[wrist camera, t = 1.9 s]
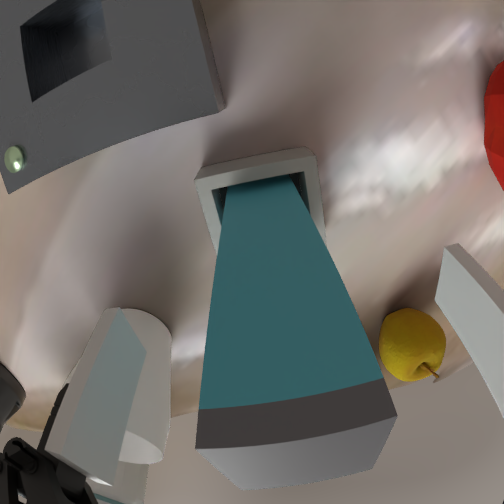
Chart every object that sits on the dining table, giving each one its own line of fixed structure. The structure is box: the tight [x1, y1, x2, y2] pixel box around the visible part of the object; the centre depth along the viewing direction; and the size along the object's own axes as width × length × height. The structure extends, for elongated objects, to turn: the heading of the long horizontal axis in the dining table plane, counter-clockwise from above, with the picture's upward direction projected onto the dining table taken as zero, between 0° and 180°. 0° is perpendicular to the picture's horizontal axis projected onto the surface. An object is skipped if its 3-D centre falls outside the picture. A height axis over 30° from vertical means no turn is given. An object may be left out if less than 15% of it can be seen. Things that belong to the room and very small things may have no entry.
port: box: [0, 0, 226, 194], centre depth 12 cm, size 14×14×6 cm
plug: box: [195, 174, 397, 490], centre depth 13 cm, size 4×4×17 cm
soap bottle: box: [86, 460, 149, 504], centre depth 21 cm, size 12×12×31 cm
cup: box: [62, 309, 172, 464], centre depth 21 cm, size 9×9×12 cm
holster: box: [194, 147, 327, 255], centre depth 19 cm, size 7×7×3 cm
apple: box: [379, 308, 446, 382], centre depth 23 cm, size 6×6×8 cm
